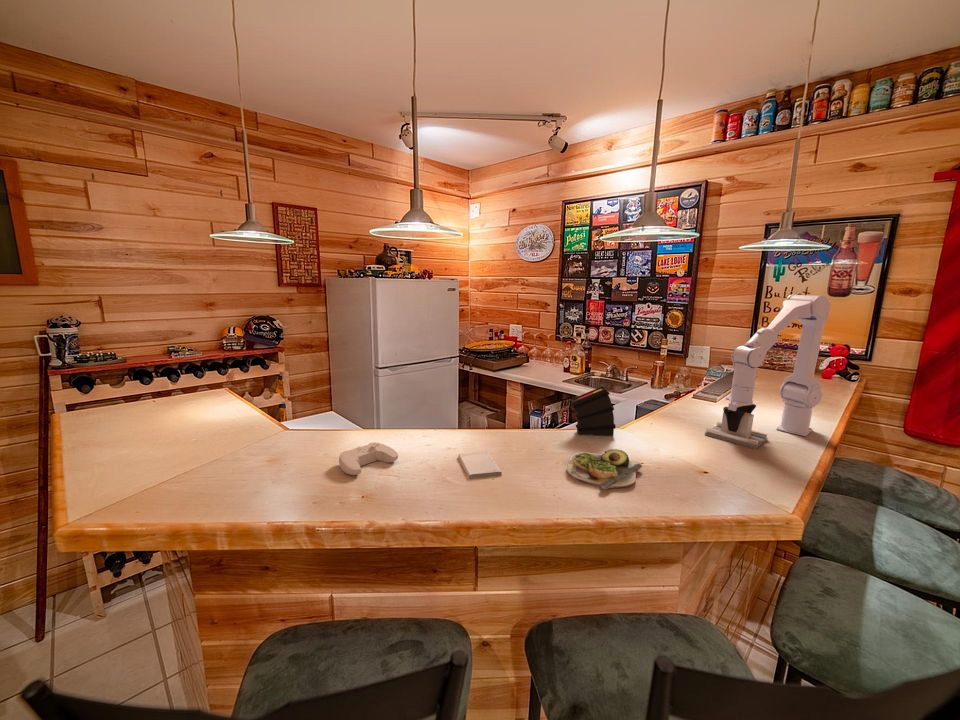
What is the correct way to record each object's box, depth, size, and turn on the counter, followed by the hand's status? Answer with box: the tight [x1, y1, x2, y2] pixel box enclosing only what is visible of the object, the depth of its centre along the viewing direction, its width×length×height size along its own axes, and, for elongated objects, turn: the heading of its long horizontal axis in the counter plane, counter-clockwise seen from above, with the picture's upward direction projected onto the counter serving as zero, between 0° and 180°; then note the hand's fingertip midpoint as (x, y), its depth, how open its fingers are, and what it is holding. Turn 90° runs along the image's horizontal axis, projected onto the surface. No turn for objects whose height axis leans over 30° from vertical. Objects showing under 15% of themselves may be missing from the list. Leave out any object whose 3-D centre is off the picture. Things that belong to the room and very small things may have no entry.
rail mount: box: [704, 421, 769, 450], centre depth 131 cm, size 11×14×2 cm
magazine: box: [570, 385, 617, 437], centre depth 131 cm, size 4×13×15 cm, turn 88°
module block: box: [721, 411, 754, 438], centre depth 130 cm, size 4×7×7 cm, turn 41°
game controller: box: [338, 441, 399, 476], centre depth 107 cm, size 14×4×10 cm
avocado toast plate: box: [566, 448, 643, 490], centre depth 104 cm, size 19×18×5 cm
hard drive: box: [458, 451, 503, 480], centre depth 108 cm, size 2×8×12 cm
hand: (736, 428), depth 130 cm, fingers open, 7 cm apart
